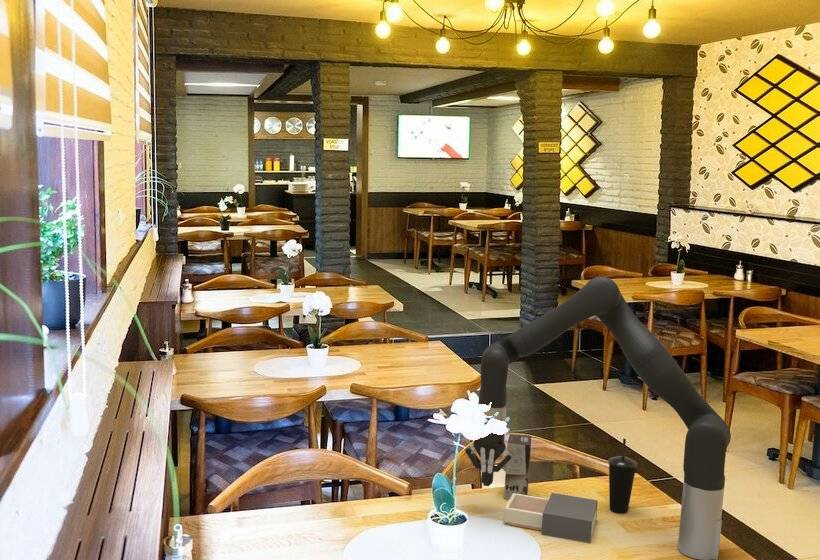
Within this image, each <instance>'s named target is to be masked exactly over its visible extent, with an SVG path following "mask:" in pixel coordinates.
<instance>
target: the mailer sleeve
mask: <svg viewBox="0 0 820 560" xmlns="http://www.w3.org/2000/svg"><path fill="white" fill-rule="evenodd" d="M548 499H549V500H548V502H547V505H546V507H545V509H544V511H543V517H542V530H541V531H540V532H541V535H542V536H547V537H552V538H553V537H554V538H559V539H563V540H564V539H565V540H570V541H576V542H581V543H586V544H591V542H592V537H591V530H592V521H593V518H594V514H595V511H596V507H597V508H598V503H599V502H598V499H593V498H586V497H580V496H574V495H567V494H562V493H558V492H557V493H555V492H551V494H550V496H549V498H548ZM597 514H598V510H597V511H596V518H597V516H598V515H597Z"/></svg>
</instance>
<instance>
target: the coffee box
mask: <svg viewBox="0 0 820 560" xmlns="http://www.w3.org/2000/svg"><path fill="white" fill-rule="evenodd" d="M531 449H532V436H531V435H529V434H528V435H527V434H526V435H525V434H514V433H512V434H511V433H509V436H508V440H507V447H506V450H507V451H508V452H509V453H512V454H513V457H512V458H511V460H510V461H509V462H508V463H507V464H506V465H505V476H504V477H505V478H504V492H503V499H505V500H509V499H510V498H511V496H512V494H513V493H516V494H522V495H528V492H529V480H530V468H531V467H530V466H531V465H530V464H531V452H532V451H531Z"/></svg>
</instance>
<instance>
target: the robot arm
mask: <svg viewBox="0 0 820 560" xmlns="http://www.w3.org/2000/svg"><path fill="white" fill-rule="evenodd" d="M595 316H596V317H597V318H598V319H599V320H600V322H601V323H603V325H604V326H605V327H606V328H607V329H608V330H609V331H610V333H611V334H612V335H613V336H614V338H615V340H616V342H617V343H618V346H619V347H620V349H621V350H622V353H623V354H624V356H625V358H626V359H627V361H628V362H629V364H630V366H631V367H632V369H633V370H634V371H635V373H636V374H637V375H638V376H639V378H640V379H641V380H642V382H643V383H644V384H645V385H646V386H647V388H648V389H649V390H651V391H652V392H653V393H654V394H655V395H657V397H659V398H660V399H662V400H663V401H664V402H666V404H667V405H668V406H670V407H671V408H672V409H673V410H674V411H675V413H677V414H678V416H679V417H680V419H681V420H682V422H683V424H684V425H685V426H686V428H687V432H686V435H685V440H684V441H685V442H684V453H683V465H682V466H683V467H682V468H683V469H682V470H683V476H684V477H683V485H682V496H681V505H680V507H681V508H680V517H679V518H680V519H679V526H678V527H679V530H678V539H677V550H678V551H679V553H681V554H683V555H685V556H686V557H689V558H691V559H695V560H696V559H697V560H719V554H720V543H721V533H722V523H723V520H722V514H723V506H724V505H723V504H724V496H725V495H724V494H725V485H726V476H725V467H726V456H727V448H728V447H729V445H730V443H731V438H732V436H731V435H732V434H731V429H730V427H729V425H728V424H727V422H726V421H725V420H724V419H723V418H722V417H721V416H720V415H719V413H717V411H715V409H714V408H713V407H712V406H710V404H709V403H708V402H707V401H706V400H705V399H704V398H703V396H701V395H700V393H699V392H698V390H697V389H696V387H695V386H694V385H693V383H692V381H691V380H690V378H688V376H687V374H686V373H685V372H684V371H683V369H682V368H681V367H680V365H679V364H678V362H677V361H676V360H675V359H674V357H673V356H672V355H671V353H670V352H669V350H668V349H666V347H665V345H664V344H663V342H661V341H660V340H659V339H658V338H657V337H656V336H655V335H654V334H653V333H652V331H650V329H649V328H647V326H645V325H644V323H642V321H640V320H639V318H638V317H637V316H636V315H635V313H634V312H633V310H632V308H631V307H630V305H629V304H628V303H627V301H626V300H625V298H624V296H623V294H622V292H621V291H620V288H619V286H618V284H617V283H616V282H615V280H612V279H611V278H610V277H608V276H597V277H593V278H591V279H590V280H589V281H587V282H586V283H585V284H584V285H583V286H582V287H581V288H580V289H579V290H578V291H577V292H575V293H574V294H572V296H570V297H569V298H568V299H567V300H565V301H564V302H562V303H561V304H560V305H558V306H556V307H555V308H553V309H552V310H550V311H548V312H546V313H545V314H543V315H540V316H539V317H538V318H536V319H534V320H532V321H530V322H529V323H527V324H525V325H524V326H522V327H520V328H519V329H517V330H516V331H515V332H513V333H512V334H510V335H508V336H505V337H503V338H501V339H499V340H497V341H494V342H493V343H492V344H490V345H488V346H487V347H486V348H485V349H484V351H483V352H482V356H481V359H480V387H479V395H478V396H479V397H478V405H479V404H486V405H488V404H489V403H490V402H492V404H491V408H490V410H489V411H487V412H485V415H487V416H492V415H494V414H495V413H496V412H499V414H498V415H497V416H495V419H497V420H500V421H505V420H506V421H507V408H506V407H507V393H508V392H507V390H508V389H507V380H508V371H509V365H511V364H512V363H514V362H515V361H517V360H519V359H520V358H525V357H528V356H530V355H532V354H534V353H536V352H538V351H539V350H541V349H543V348H544V347H545V346H547V345H549V344H550V343H552V342H553V341H554V340H556V339H557V338H559V337H560V336H561V335H563V334H564V333H565V332H566V331H568V330H569V329H571V328H573V327H574V326H575V325H577V324H579V323H581V322H583V321H585V320H587V319H589V318H591V317H595ZM505 434H506V433H505ZM505 434H503V435H497V434H493V433H491V434H489V435H488V436H486V437H484V438H480V439H478V440H475V439H474V441H473V443H472V445H469V446H467V447H466V448H465V450H464V451H465V453H466V455H467V457H468V458H469V460H470V461H471V463H472V465H473V466H474V468H475V469H478V470H479V471H480V472H481V479H480V481H481V484H482V485H483V486H485V487H490V485H492V484H493V482H494V473H498V472H500V471H501V469H503V467H505V466H506V464H507V463H508V462H509V461H510V460H511V458H512V457H513V454H512V453H509V452H508V451H507V447H506V444H505V436H506V435H505ZM476 453H477V454H478V455H477V454H476ZM501 455H502V459H501V461H500V462H499V463H498V464H496V460H497V459H499V458H500V456H501ZM478 456H479V457H478ZM479 458H480V459H479Z"/></svg>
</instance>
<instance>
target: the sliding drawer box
mask: <svg viewBox="0 0 820 560" xmlns="http://www.w3.org/2000/svg"><path fill="white" fill-rule="evenodd" d="M548 500H549V498H545V497H539V496H535V495H534V496H532V495H528V494H527V495H522V494H516V493H513V494H512V496H511V498H510V499H508V501H507V503H506V505H505V507H504V510H503V524H504V523H508V524H507V525H509V524H511V525H510V526H515V527H519V528H520V527H522V528H526V529H531V530H537V531H542V517H543V511H544V509H545V507H546V505H547V502H548ZM596 511H597V512H598V506H597V507H596ZM596 511H595V514H594V518H593V521H592V530H591V538H592V537H593V533H594V529H595V526H596V522H597V517H596Z"/></svg>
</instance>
